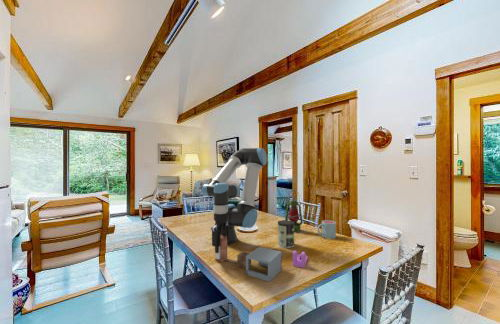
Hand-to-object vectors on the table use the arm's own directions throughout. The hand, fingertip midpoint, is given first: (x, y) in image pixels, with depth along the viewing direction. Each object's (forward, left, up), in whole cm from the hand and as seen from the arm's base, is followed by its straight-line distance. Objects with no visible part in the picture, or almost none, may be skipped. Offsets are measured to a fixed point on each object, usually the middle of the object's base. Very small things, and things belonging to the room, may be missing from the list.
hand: (220, 256), depth 119 cm
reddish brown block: (+7, 0, -1) cm, 8 cm away
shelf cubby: (+26, 0, -1) cm, 26 cm away
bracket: (+37, +20, -2) cm, 42 cm away
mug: (+40, +67, -2) cm, 78 cm away
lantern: (+16, +69, -2) cm, 71 cm away
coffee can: (+22, +38, -2) cm, 44 cm away
